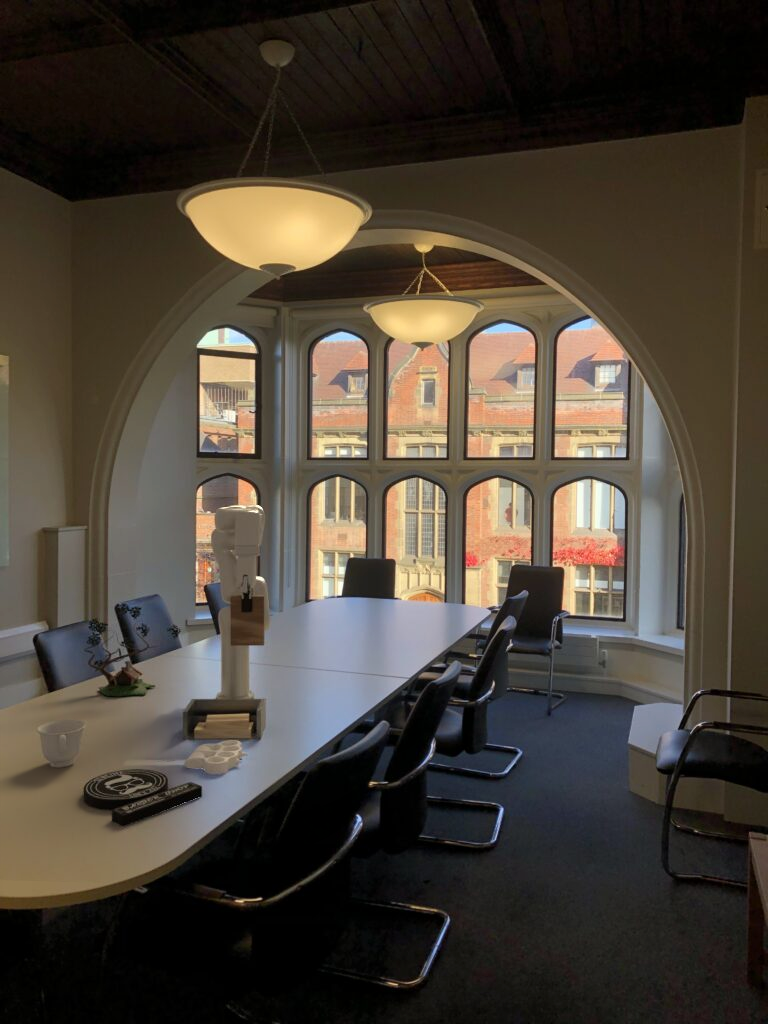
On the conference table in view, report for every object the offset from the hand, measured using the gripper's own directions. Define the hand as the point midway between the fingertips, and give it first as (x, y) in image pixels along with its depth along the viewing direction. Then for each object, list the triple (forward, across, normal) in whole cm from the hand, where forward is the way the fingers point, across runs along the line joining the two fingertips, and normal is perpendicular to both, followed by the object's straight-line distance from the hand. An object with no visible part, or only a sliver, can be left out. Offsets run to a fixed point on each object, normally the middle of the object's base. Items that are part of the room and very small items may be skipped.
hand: (247, 610), depth 246 cm
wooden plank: (+10, 0, 0) cm, 10 cm away
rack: (+35, +11, -5) cm, 37 cm away
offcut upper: (+31, +13, -4) cm, 34 cm away
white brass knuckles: (+36, +32, -4) cm, 48 cm away
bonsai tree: (+35, -35, -44) cm, 66 cm away
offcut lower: (+34, +13, -5) cm, 37 cm away
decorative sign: (+36, +55, -20) cm, 69 cm away
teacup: (+35, +34, -44) cm, 66 cm away
